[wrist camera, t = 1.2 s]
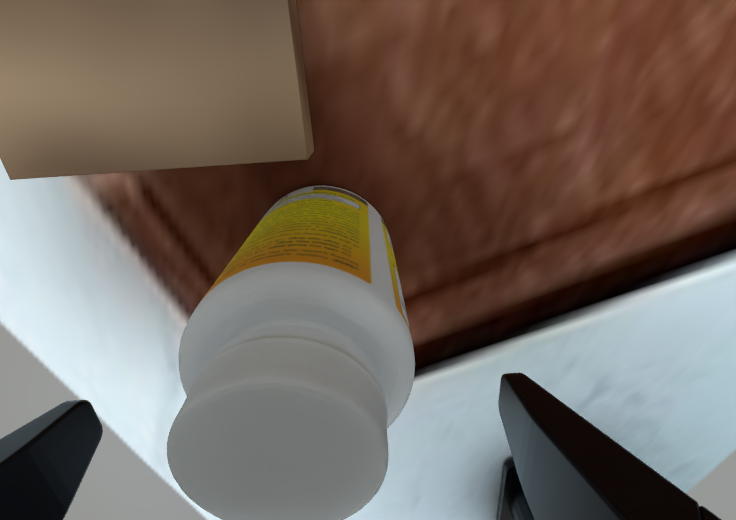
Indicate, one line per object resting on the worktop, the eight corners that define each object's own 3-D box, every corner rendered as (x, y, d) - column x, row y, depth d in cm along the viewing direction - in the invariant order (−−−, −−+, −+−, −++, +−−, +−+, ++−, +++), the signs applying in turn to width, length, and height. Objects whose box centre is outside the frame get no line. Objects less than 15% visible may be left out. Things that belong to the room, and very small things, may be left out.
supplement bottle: (232, 234, 16) (41, 449, 6) (335, 152, 14) (290, 269, 5) (317, 323, 18) (269, 588, 8) (416, 258, 16) (492, 485, 7)
